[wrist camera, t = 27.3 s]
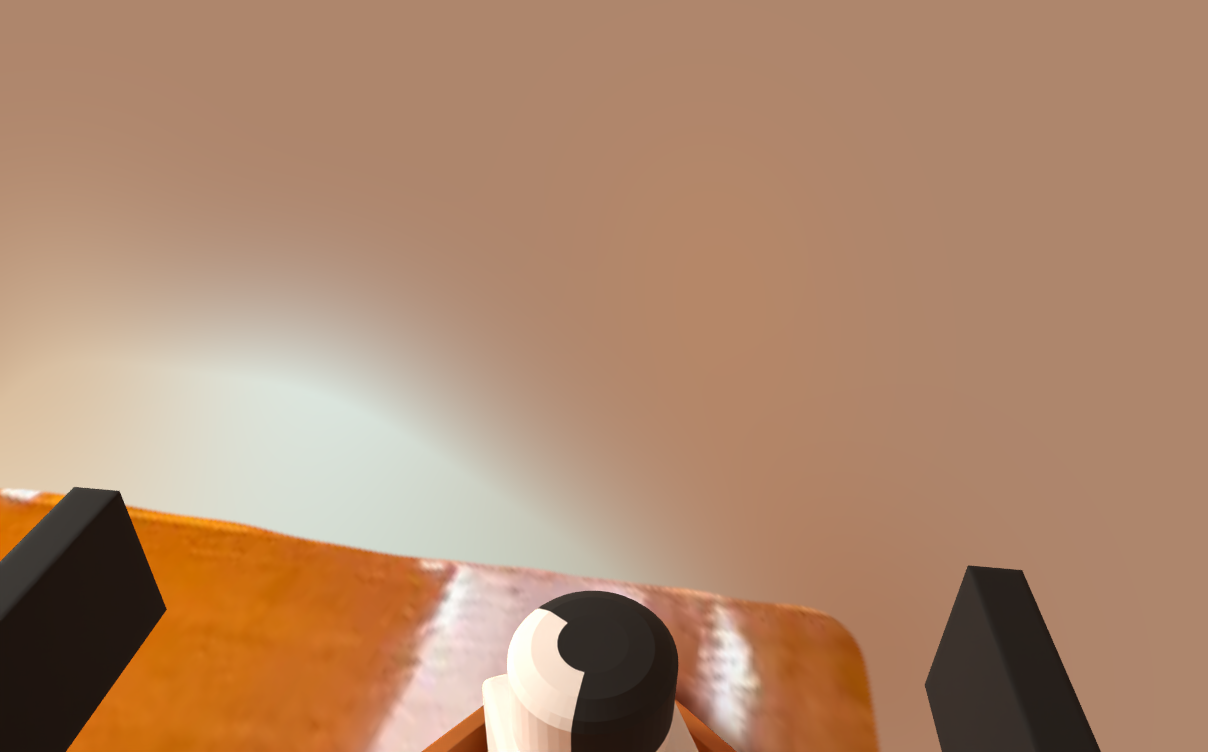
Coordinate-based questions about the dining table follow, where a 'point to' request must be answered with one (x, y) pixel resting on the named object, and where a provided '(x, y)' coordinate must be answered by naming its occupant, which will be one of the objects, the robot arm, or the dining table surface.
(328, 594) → the dining table surface
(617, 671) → the medicine bottle
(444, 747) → the amber tray
